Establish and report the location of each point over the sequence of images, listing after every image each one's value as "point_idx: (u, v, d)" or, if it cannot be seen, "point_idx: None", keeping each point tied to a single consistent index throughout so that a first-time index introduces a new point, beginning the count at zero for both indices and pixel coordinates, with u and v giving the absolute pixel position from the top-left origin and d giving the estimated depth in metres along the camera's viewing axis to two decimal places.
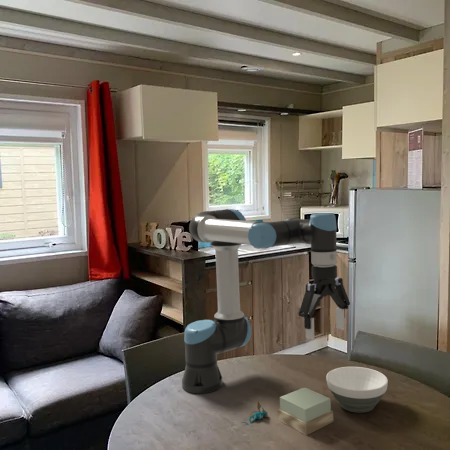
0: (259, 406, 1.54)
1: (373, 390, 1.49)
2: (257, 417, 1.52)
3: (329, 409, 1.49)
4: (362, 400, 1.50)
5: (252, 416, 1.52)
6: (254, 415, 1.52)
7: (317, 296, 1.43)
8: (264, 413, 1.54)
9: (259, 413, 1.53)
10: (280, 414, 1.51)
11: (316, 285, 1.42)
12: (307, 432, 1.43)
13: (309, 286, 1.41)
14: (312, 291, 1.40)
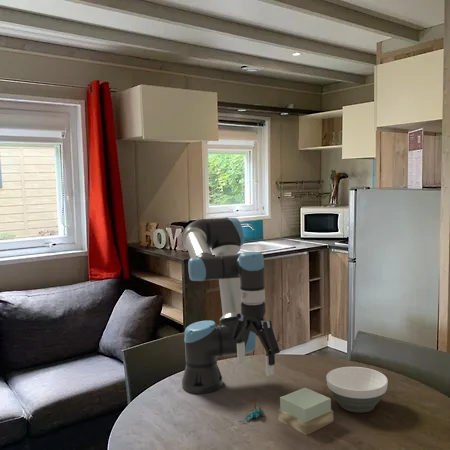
0: (255, 405, 1.55)
1: (373, 390, 1.49)
2: (254, 416, 1.53)
3: (329, 409, 1.49)
4: (362, 400, 1.50)
5: (249, 415, 1.53)
6: (251, 414, 1.53)
7: None
8: (260, 412, 1.55)
9: (256, 412, 1.54)
10: (280, 414, 1.51)
11: (243, 317, 1.53)
12: (307, 432, 1.43)
13: None
14: (236, 319, 1.55)
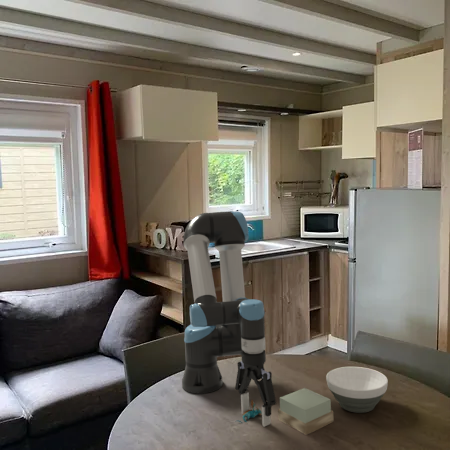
0: (253, 405, 1.55)
1: (373, 390, 1.49)
2: (251, 415, 1.53)
3: (329, 410, 1.48)
4: (362, 400, 1.50)
5: (246, 415, 1.53)
6: (248, 414, 1.53)
7: None
8: (258, 411, 1.55)
9: (253, 411, 1.54)
10: (280, 414, 1.51)
11: (243, 364, 1.54)
12: (307, 432, 1.43)
13: None
14: (238, 368, 1.56)
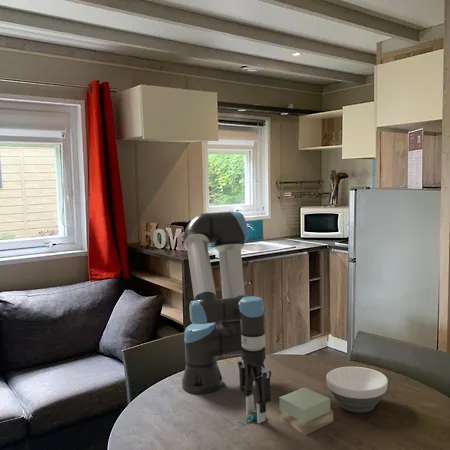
0: None
1: (373, 390, 1.49)
2: (254, 418, 1.52)
3: (329, 409, 1.49)
4: (362, 400, 1.50)
5: (249, 417, 1.52)
6: (251, 416, 1.52)
7: None
8: None
9: None
10: (280, 414, 1.51)
11: (243, 362, 1.54)
12: (307, 432, 1.43)
13: None
14: (239, 368, 1.56)
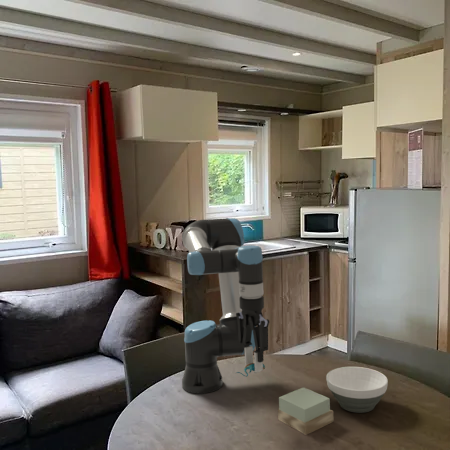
0: None
1: (373, 390, 1.49)
2: (253, 369, 1.50)
3: (328, 409, 1.49)
4: (362, 400, 1.50)
5: (248, 367, 1.50)
6: (250, 366, 1.50)
7: None
8: None
9: None
10: (280, 414, 1.51)
11: (242, 312, 1.53)
12: (307, 432, 1.43)
13: None
14: (237, 319, 1.54)
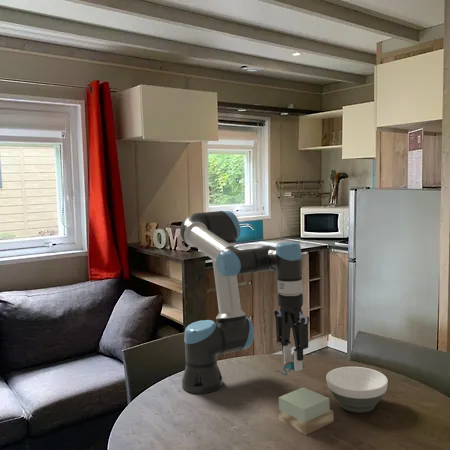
0: None
1: (373, 390, 1.49)
2: (292, 367, 1.48)
3: (328, 409, 1.49)
4: (362, 400, 1.50)
5: (287, 366, 1.48)
6: (289, 365, 1.48)
7: None
8: None
9: None
10: (280, 414, 1.51)
11: (280, 310, 1.51)
12: (307, 432, 1.43)
13: None
14: (275, 317, 1.52)
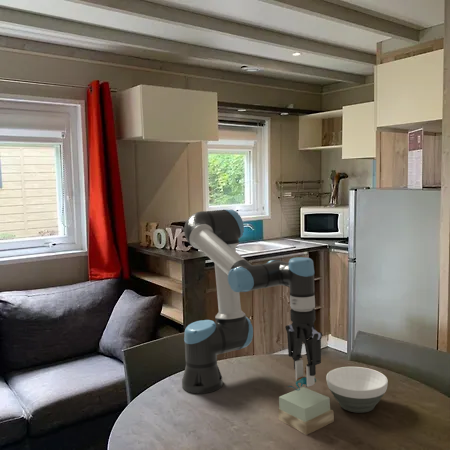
0: None
1: (373, 390, 1.49)
2: (305, 382, 1.48)
3: (328, 408, 1.49)
4: (362, 400, 1.50)
5: (299, 381, 1.48)
6: (302, 380, 1.48)
7: None
8: None
9: None
10: (280, 413, 1.51)
11: (292, 325, 1.51)
12: (307, 431, 1.43)
13: None
14: (287, 332, 1.52)
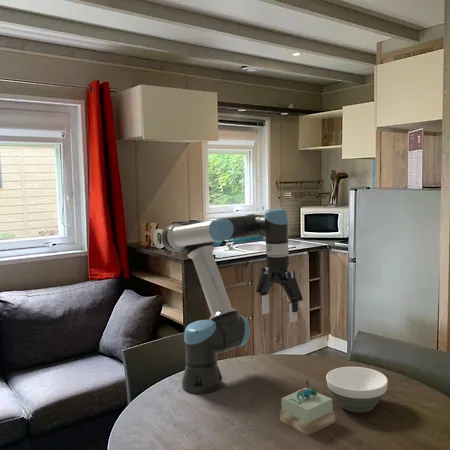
0: (308, 384, 1.50)
1: (373, 390, 1.49)
2: (306, 395, 1.49)
3: (331, 409, 1.49)
4: (362, 400, 1.50)
5: (301, 394, 1.49)
6: (303, 393, 1.49)
7: None
8: (313, 391, 1.50)
9: (308, 391, 1.49)
10: (282, 414, 1.51)
11: (268, 270, 1.66)
12: (309, 433, 1.42)
13: None
14: None
